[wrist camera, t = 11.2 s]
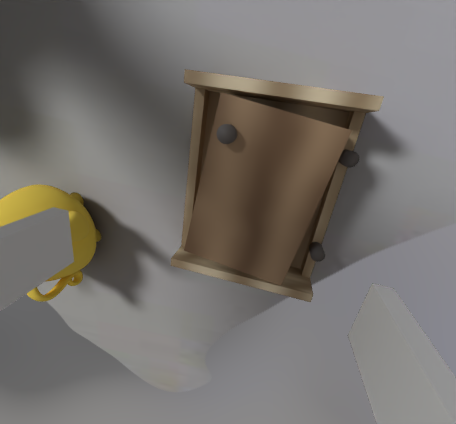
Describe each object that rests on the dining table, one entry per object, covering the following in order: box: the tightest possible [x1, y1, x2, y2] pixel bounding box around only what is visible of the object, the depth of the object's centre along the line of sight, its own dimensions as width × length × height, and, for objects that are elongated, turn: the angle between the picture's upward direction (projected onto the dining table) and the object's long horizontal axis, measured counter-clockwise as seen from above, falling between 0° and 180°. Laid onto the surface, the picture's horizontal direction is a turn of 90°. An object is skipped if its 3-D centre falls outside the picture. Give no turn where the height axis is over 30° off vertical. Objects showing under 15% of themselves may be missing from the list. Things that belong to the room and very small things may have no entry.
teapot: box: [0, 185, 101, 301], centre depth 31 cm, size 20×15×12 cm
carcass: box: [171, 69, 384, 302], centre depth 25 cm, size 16×20×6 cm
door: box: [184, 92, 352, 286], centre depth 24 cm, size 11×16×6 cm
